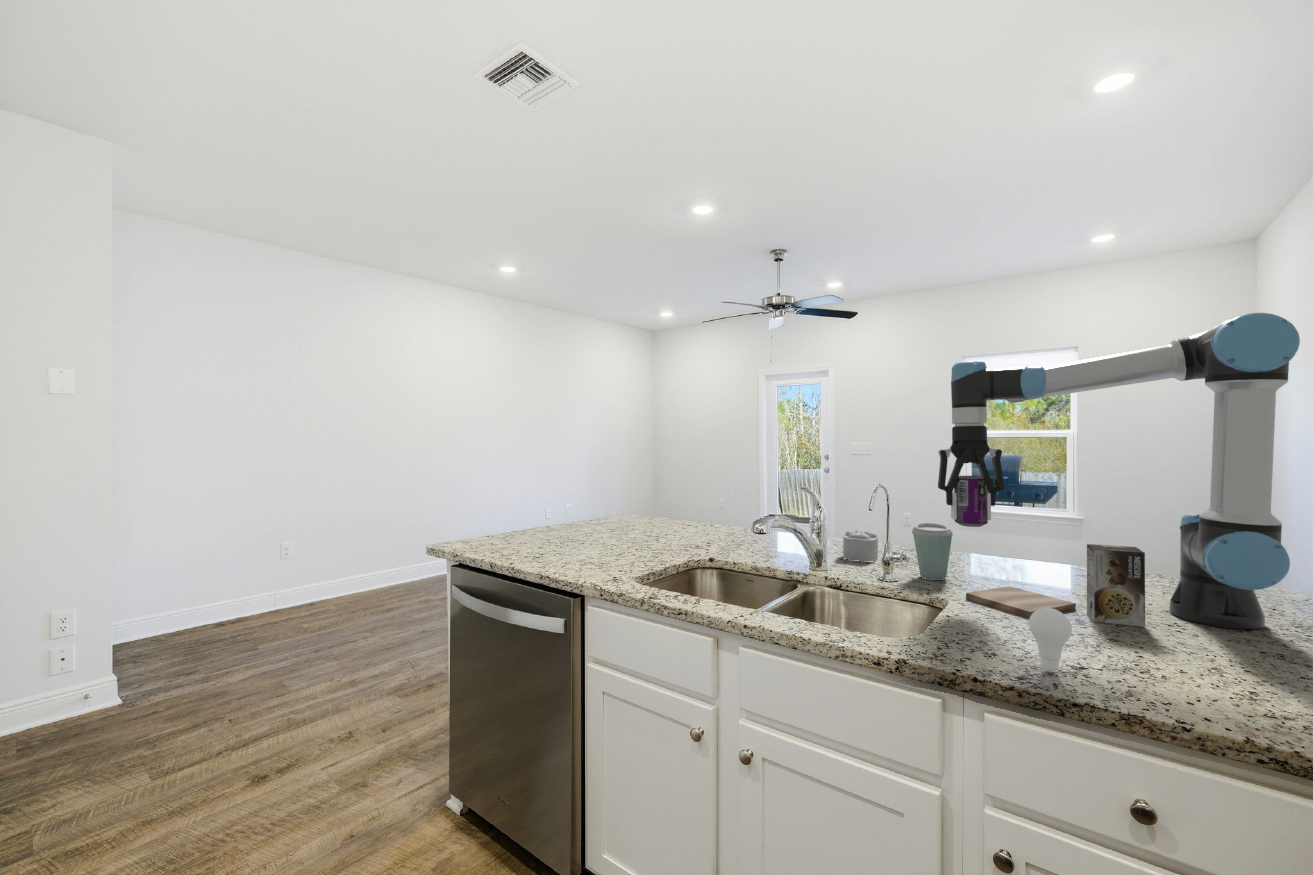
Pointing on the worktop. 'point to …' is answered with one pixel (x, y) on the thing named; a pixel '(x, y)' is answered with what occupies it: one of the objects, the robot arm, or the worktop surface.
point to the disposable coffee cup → (932, 549)
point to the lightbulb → (1050, 635)
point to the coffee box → (1116, 584)
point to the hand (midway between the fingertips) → (970, 518)
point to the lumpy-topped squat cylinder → (860, 546)
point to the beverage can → (971, 501)
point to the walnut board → (1018, 600)
